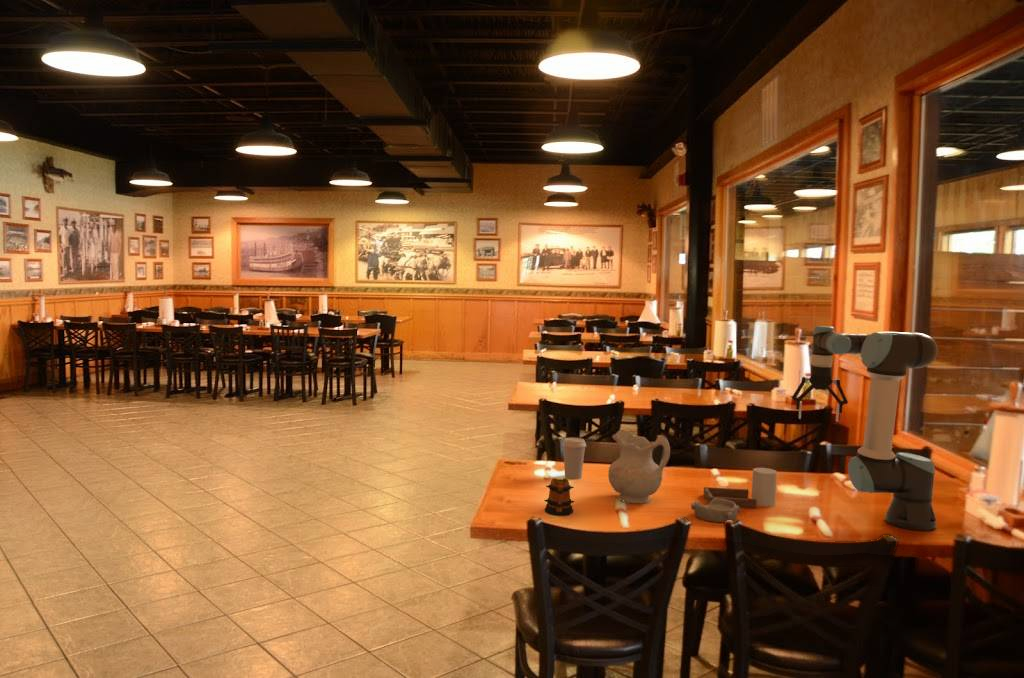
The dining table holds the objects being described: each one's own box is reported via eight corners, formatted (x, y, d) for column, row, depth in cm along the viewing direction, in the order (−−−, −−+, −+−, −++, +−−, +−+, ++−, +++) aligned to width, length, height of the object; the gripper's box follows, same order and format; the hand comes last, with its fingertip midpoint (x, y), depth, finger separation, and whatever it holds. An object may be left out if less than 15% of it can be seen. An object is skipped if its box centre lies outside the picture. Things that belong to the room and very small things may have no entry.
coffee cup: (556, 475, 310) (557, 437, 308) (577, 473, 314) (579, 436, 312) (568, 481, 301) (569, 443, 300) (589, 479, 305) (591, 441, 304)
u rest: (756, 508, 273) (756, 500, 273) (709, 506, 275) (710, 497, 274) (747, 497, 287) (747, 489, 286) (703, 495, 288) (703, 487, 288)
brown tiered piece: (543, 506, 269) (545, 473, 268) (573, 507, 268) (574, 474, 267) (543, 518, 256) (544, 484, 255) (574, 519, 255) (576, 485, 254)
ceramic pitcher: (670, 498, 286) (673, 431, 285) (666, 510, 267) (669, 437, 267) (611, 492, 292) (614, 426, 291) (603, 503, 273) (606, 432, 272)
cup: (771, 500, 283) (773, 468, 282) (777, 507, 275) (779, 474, 274) (749, 499, 284) (751, 467, 283) (753, 506, 276) (755, 472, 275)
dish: (686, 516, 263) (687, 502, 262) (708, 508, 272) (709, 494, 272) (724, 527, 252) (725, 512, 252) (746, 518, 262) (747, 504, 262)
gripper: (855, 366, 302) (852, 420, 303) (787, 362, 310) (784, 415, 311) (857, 368, 295) (853, 424, 296) (787, 364, 302) (784, 418, 304)
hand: (818, 419), depth 304 cm, fingers open, 13 cm apart
